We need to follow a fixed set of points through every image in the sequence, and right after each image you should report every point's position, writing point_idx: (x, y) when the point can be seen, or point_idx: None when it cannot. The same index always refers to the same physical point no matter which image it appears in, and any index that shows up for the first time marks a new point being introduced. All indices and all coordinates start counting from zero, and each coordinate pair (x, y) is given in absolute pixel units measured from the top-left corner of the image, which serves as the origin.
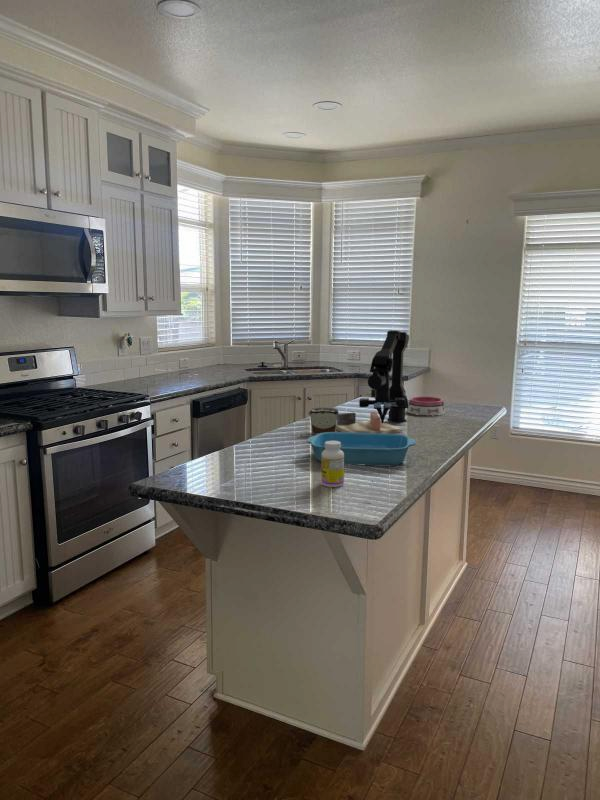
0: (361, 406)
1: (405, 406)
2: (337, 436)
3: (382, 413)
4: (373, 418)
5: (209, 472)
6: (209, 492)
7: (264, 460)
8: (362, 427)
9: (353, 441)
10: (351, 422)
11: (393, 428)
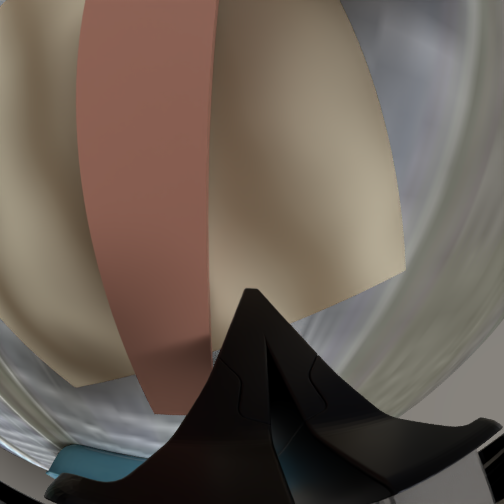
0: (3, 488)
1: (480, 451)
2: (83, 474)
3: (280, 375)
4: (128, 351)
5: (4, 443)
6: (47, 469)
7: (15, 438)
8: (49, 235)
9: (126, 474)
10: None
11: (344, 271)
